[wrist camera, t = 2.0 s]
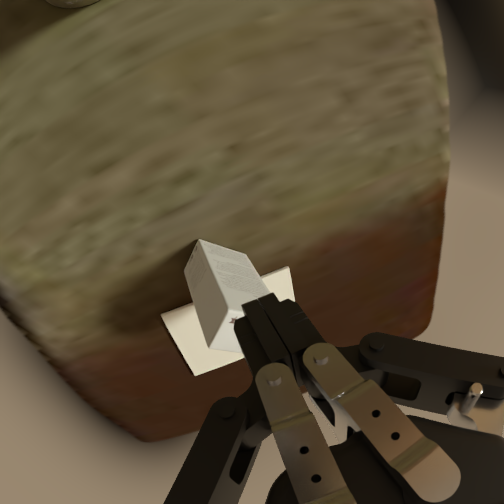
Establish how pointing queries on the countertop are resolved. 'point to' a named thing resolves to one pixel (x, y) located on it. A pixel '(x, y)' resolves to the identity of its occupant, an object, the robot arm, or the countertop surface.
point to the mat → (191, 335)
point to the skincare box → (221, 291)
